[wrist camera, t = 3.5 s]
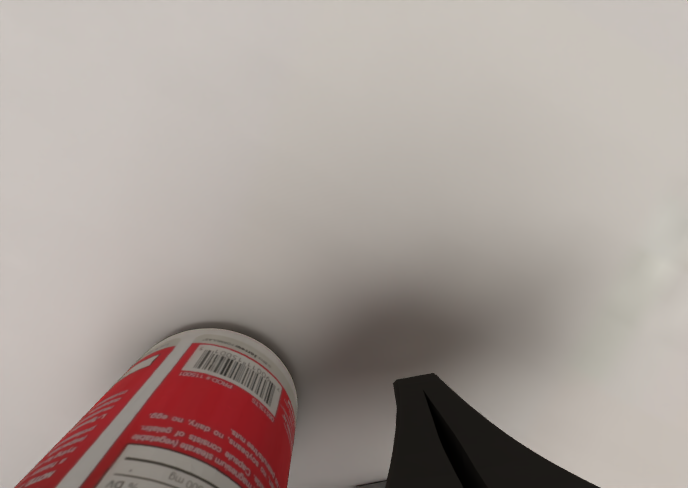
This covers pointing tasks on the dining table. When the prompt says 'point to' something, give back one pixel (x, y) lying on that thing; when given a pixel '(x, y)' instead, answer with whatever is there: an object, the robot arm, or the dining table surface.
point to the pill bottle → (184, 421)
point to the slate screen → (374, 485)
